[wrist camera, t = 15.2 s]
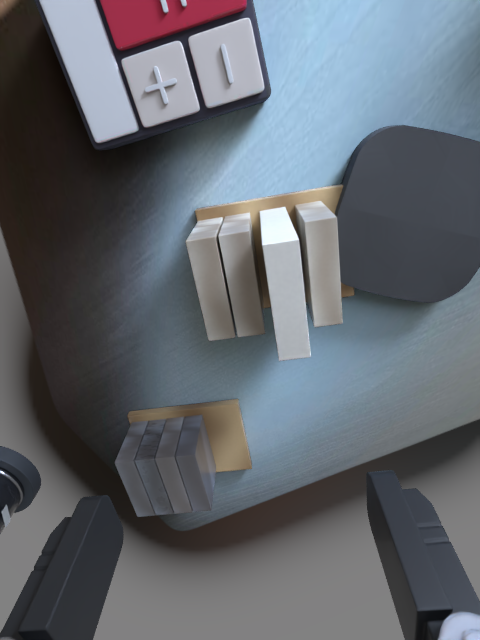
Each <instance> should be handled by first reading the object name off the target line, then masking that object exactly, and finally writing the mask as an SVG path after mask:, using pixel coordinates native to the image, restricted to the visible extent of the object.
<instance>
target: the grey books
mask: <svg viewBox="0 0 480 640" xmlns="http://www.w3.org/2000/svg"><path fill="white" fill-rule="evenodd" d="M127 417H128V420H129V423H130V427H129V430H128V432H127V435H126V437H125V439H124V442H123V444H122V446H121V449H120V451H119V453H118V456H117V458H116V461H115V465H116V468H117V470H118V472H119V475H120V477H121V479H122V482H123V484H124V486H125V488H126V491H127V493H128V496H129V498H130V500H131V503H132V505H133V507H134V509H135V512H136V514H137V516H138V517H142V516H153V515H155V514H156V515H165V514H174V513H175V514H178V513H190V512H201V511H211V510H212V502H213V493H214V484H215V475H216V472H224V471H234V470H245V469H252V462H251V457H250V452H249V448H248V443H247V438H246V433H245V429H244V424H243V419H242V414H241V410H240V405H239V400H238V399H233V400H224V401H215V402H206V403H198V404H189V405H180V406H172V407H163V408H154V409H145V410H137V411H129V413H128V416H127Z"/></svg>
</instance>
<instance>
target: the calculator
mask: <svg viewBox="0 0 480 640" xmlns="http://www.w3.org/2000/svg"><path fill="white" fill-rule="evenodd" d="M34 1H35V3H36V6H37V8H38V11H39V13H40V16H41V18H42V21H43V23H44V26H45V28H46V31H47V33H48V36H49V38H50V41H51V43H52V46H53V48H54V51H55V53H56V56H57V58H58V61H59V63H60V66H61V68H62V71H63V73H64V76H65V78H66V81H67V83H68V86H69V88H70V91H71V93H72V96H73V98H74V101H75V103H76V106H77V108H78V111H79V113H80V116H81V118H82V121H83V123H84V126H85V128H86V131H87V133H88V136H89V138H90V141H91V143H92V145H93V147H94V148H95V149H96V150H109V149H114V148H117V147H121V146H124V145H127V144H130V143H134V142H137V141H140V140H143V139H146V138H149V137H152V136H155V135H158V134H161V133H164V132H168V131H171V130H174V129H177V128H181V127H184V126H187V125H190V124H194V123H197V122H200V121H203V120H207V119H210V118H213V117H216V116H220V115H223V114H226V113H229V112H232V111H236V110H239V109H242V108H245V107H249V106H252V105H255V104H258V103H262V102H264V101H266V100H267V99H268V98H269V96H270V94H271V88H270V83H269V78H268V73H267V68H266V63H265V58H264V53H263V48H262V43H261V38H260V33H259V28H258V23H257V18H256V13H255V8H254V3H253V0H34Z"/></svg>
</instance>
